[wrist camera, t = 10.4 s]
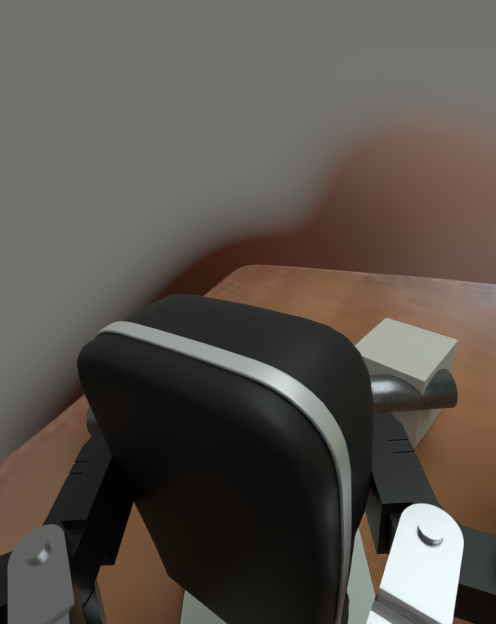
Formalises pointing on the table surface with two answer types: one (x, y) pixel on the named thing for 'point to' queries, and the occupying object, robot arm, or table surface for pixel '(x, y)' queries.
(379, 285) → the table surface
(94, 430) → the shafts
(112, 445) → the battery charger
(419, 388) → the shaft mounts
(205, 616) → the seat pad
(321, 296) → the table surface
